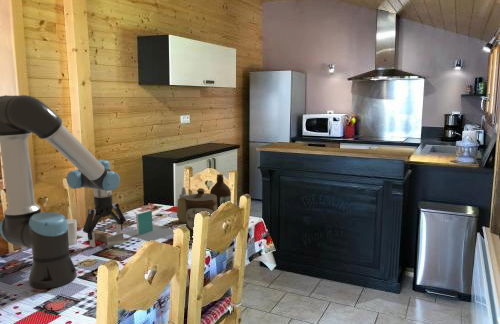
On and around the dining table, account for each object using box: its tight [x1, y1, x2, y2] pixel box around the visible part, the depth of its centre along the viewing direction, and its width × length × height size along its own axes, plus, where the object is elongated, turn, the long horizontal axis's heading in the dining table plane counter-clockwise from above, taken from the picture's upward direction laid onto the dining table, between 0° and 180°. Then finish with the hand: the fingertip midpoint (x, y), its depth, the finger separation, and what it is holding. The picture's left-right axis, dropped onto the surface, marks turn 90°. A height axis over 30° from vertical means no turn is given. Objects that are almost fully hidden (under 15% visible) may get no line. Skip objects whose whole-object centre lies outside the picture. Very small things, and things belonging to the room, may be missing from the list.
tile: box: [135, 209, 153, 235], centre depth 197 cm, size 8×2×10 cm, turn 143°
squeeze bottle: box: [176, 186, 190, 224], centre depth 216 cm, size 8×8×18 cm
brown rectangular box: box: [93, 229, 125, 250], centre depth 187 cm, size 17×8×5 cm, turn 53°
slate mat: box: [123, 223, 174, 242], centre depth 199 cm, size 18×20×1 cm
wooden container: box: [185, 188, 217, 239], centre depth 195 cm, size 15×15×22 cm
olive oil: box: [209, 173, 232, 209], centre depth 213 cm, size 11×11×25 cm
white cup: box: [66, 218, 78, 246], centre depth 186 cm, size 8×8×10 cm
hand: (106, 242), depth 187 cm, fingers open, 13 cm apart
